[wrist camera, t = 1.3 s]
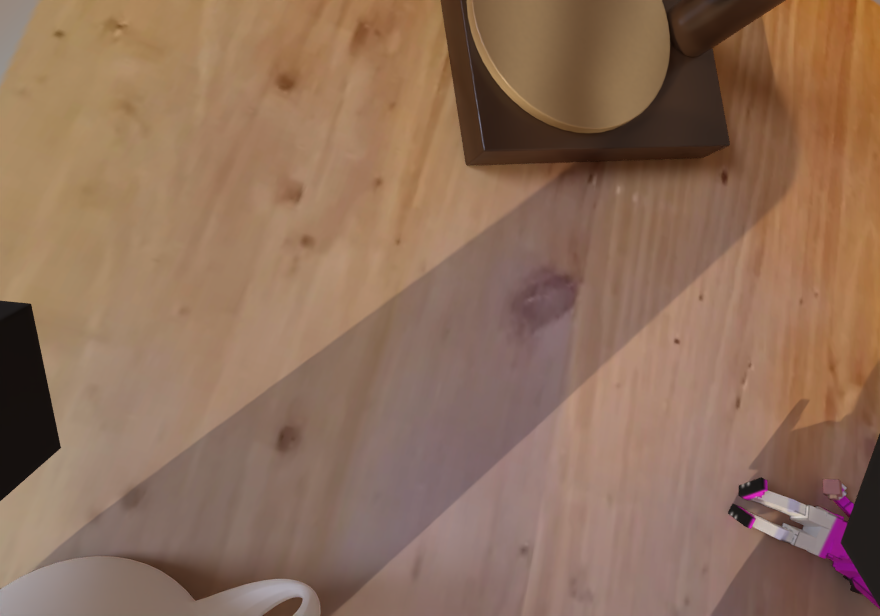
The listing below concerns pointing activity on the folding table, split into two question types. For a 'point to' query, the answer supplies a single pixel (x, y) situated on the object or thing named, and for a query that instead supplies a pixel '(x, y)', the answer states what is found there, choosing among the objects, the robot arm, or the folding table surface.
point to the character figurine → (806, 525)
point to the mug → (138, 592)
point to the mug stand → (590, 77)
